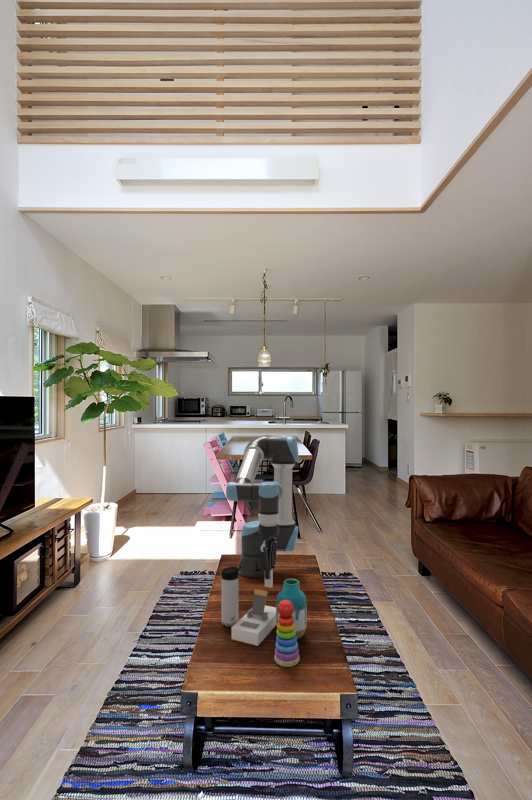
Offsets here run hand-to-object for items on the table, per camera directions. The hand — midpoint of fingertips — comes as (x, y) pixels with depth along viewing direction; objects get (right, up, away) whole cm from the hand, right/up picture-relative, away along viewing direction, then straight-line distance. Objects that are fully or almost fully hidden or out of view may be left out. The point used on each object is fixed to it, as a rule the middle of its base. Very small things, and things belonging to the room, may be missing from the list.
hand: (268, 586), depth 171 cm
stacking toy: (+6, -12, -29) cm, 31 cm away
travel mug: (-14, -12, -4) cm, 19 cm away
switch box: (-4, -12, -9) cm, 15 cm away
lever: (-4, -7, -9) cm, 12 cm away
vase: (+8, -12, -14) cm, 20 cm away
